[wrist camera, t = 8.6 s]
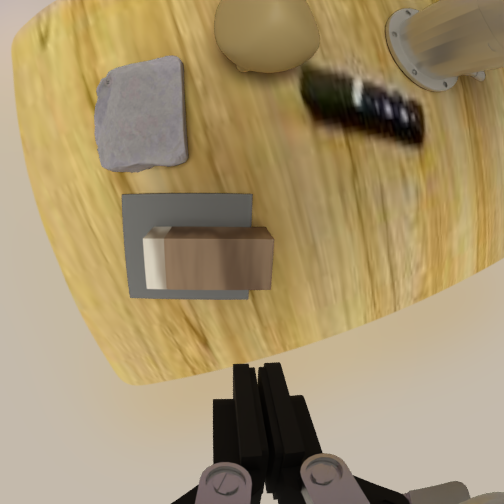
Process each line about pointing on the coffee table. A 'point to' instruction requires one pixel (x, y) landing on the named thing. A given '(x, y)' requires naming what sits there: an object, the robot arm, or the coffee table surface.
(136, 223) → the rubber mat
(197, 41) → the coffee table surface
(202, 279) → the walnut block
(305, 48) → the tan rounded figure
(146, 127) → the stone block
